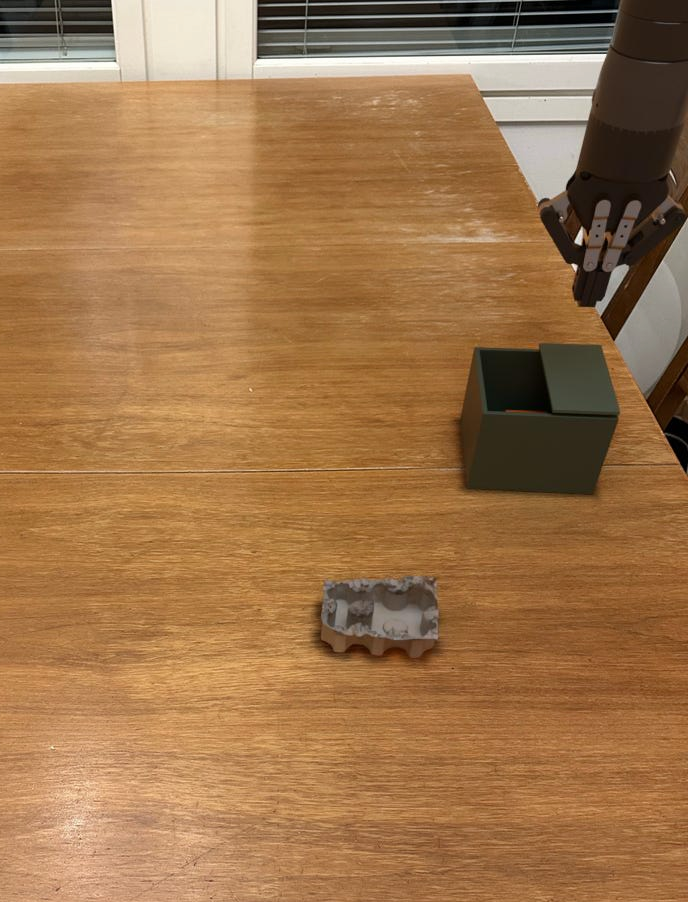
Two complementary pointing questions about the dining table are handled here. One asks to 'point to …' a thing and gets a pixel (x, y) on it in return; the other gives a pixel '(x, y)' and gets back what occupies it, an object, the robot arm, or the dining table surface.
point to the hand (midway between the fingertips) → (585, 302)
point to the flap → (578, 379)
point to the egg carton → (381, 614)
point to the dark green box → (526, 429)
